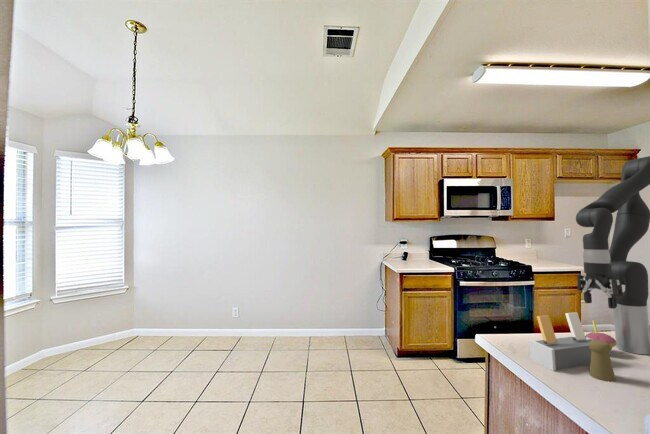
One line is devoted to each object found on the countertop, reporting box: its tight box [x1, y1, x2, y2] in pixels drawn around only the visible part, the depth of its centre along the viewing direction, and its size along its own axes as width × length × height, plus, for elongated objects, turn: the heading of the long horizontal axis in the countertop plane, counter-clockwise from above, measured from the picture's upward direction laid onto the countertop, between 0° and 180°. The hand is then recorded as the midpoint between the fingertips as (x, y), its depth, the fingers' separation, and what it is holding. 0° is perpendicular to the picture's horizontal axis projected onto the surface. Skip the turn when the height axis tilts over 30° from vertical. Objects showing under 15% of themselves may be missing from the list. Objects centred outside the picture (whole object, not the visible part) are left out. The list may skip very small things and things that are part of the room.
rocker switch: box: [564, 311, 586, 340], centre depth 106 cm, size 4×1×9 cm, turn 99°
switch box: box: [528, 336, 593, 372], centre depth 104 cm, size 21×9×7 cm, turn 99°
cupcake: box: [585, 318, 617, 356], centre depth 110 cm, size 9×8×12 cm
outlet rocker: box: [536, 314, 557, 344], centre depth 104 cm, size 4×1×9 cm, turn 99°
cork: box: [589, 340, 616, 383], centre depth 93 cm, size 6×6×11 cm
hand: (599, 305), depth 109 cm, fingers open, 8 cm apart
